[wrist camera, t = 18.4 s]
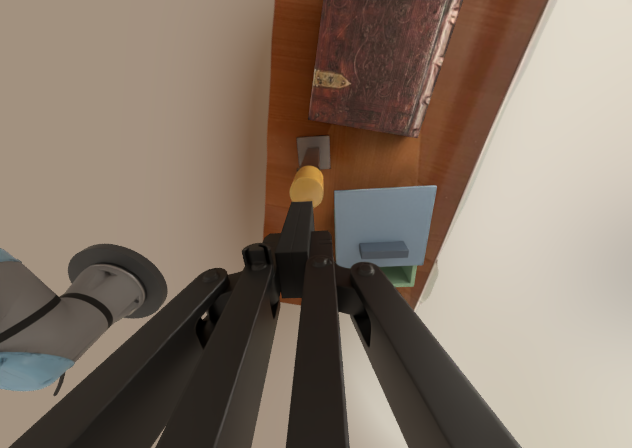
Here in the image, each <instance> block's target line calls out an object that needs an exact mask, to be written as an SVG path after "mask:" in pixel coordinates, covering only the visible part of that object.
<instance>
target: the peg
mask: <svg viewBox="0 0 632 448" xmlns="http://www.w3.org/2000/svg"><path fill="white" fill-rule="evenodd" d="M323 194H324V191H323V176H322V173H321V172H320V170H319V169H317V168H316V167H314V166H304V167H302V168H300V169H299V170H298V171H297V173H296V176H295V178H294V180H293V183H292V185H291V188H290V198H291V200H292V202H301V201H312V202H313V208H314V207H316V206H318V205H319V204H320V203H321V201H322V199H323Z"/></svg>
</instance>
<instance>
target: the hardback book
mask: <svg viewBox="0 0 632 448" xmlns="http://www.w3.org/2000/svg"><path fill="white" fill-rule="evenodd" d="M462 2H463V0H323V7H322V15H321V22H320V30H319V38H318V46H317V54H316V62H315V70H314V78H313V86H312V94H311V102H310V109H309V117H308V120H314V121H319V122H325V123H331V124H337V125H343V126H349V127H355V128H361V129H367V130H373V131H378V132H384V133H390V134H396V135H402V136H408V137H414V138H418V135H419V132H420V129H421V126H422V123H423V120H424V117H425V114H426V111H427V108H428V105H429V102H430V99H431V96H432V93H433V90H434V87H435V84H436V81H437V78H438V74H439V71H440V68H441V65H442V62H443V59H444V56H445V53H446V50H447V47H448V44H449V41H450V38H451V35H452V32H453V29H454V26H455V23H456V20H457V17H458V14H459V11H460V8H461V5H462Z"/></svg>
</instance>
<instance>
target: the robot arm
mask: <svg viewBox="0 0 632 448" xmlns="http://www.w3.org/2000/svg"><path fill="white" fill-rule="evenodd" d="M242 255H243V259H244V263H245V267H244V269H243V271H241V272H238V273H234V274H230V275H228V274H227V271H226V270H225V269H222V268H214V269H209V270H207V271H205V272H203V273H202V274H200V275H199V276H198V277H197V278H196V279H194V280H193V282H191V283H190V284H189V285H188V286H187V287H186V288H185V289H183V290H182V291H181V292H180V293H179V294H178V295H177V296H176V297H175V298H173V299H172V300H171V301H170V302H169V303H168V304H167V305H166V306H165V307H163V308H162V309H161V310H160V311H159V312H158V313H157V314H156V315H155V316H154V317H152V318H151V319H150V320H149V321H148V322H147V323H146V324H145V325H144V326H142V327H141V328H140V329H139V330H138V331H137V332H136V333H135V334H134V335H132V337H130V338H129V339H128V340H127V341H126V342H125V343H124V344H123V345H121V346H120V347H119V348H118V349H117V350H116V351H115V352H114V353H113V354H111V355H110V356H109V357H108V358H107V359H106V360H105V361H104V362H103V363H102V364H100V365H99V366H98V367H97V368H96V369H95V370H94V371H93V372H92V373H90V374H89V375H88V376H87V377H86V378H85V379H84V380H83V381H82V382H81V383H80V384H78V385H77V386H76V387H75V388H74V389H73V390H72V391H71V392H69V393H68V394H67V395H66V396H65V397H64V398H63V399H62V400H61V401H60V402H58V403H57V404H56V405H55V406H54V407H53V408H52V409H51V410H50V411H48V412H47V413H46V414H45V415H44V416H43V417H42V418H41V419H40V420H39V421H37V422H36V423H35V424H34V425H33V426H32V427H31V428H30V429H29V430H27V431H26V432H25V433H24V434H23V435H22V436H21V437H20V438H19V439H18V440H16V441H15V442H14V443H13V444H12V445H11V446H10V447H9V448H151V446H152V445H153V444H154V442H155V441H156V439H157V438H158V436H159V435H160V433H161V432H162V431H163V429H164V428H165V429H164V431H163V433H162V435H161V437H160V440H159V441H158V443H157V446H156V447H155V448H251V445H252V440H253V436H254V431H255V426H256V421H257V416H258V412H259V406H260V401H261V397H262V392H263V388H264V383H265V378H266V373H267V368H268V363H269V359H270V354H271V349H272V344H273V339H274V334H275V330H276V325H277V320H278V315H279V311H280V299H279V296H280V292H281V295H282V298H302V302H301V312H300V322H299V330H298V340H297V349H296V358H295V367H294V377H293V386H292V396H291V404H290V414H289V424H288V433H287V442H286V448H350V447H349V435H348V423H347V411H346V399H345V387H344V375H343V362H342V351H341V338H340V327H339V314H338V312H342V313H346V314H350V317H351V319H352V322H353V324H354V327H355V329H356V331H357V333H358V336H359V337H360V340H361V342H362V344H363V347H364V349H365V351H366V353H367V355H368V358H369V360H370V362H371V365H372V367H373V369H374V371H375V374H376V376H377V378H378V380H379V383H380V385H381V387H382V389H383V391H384V393H385V396H386V398H387V400H388V403H389V405H390V407H391V409H392V412H393V414H394V416H395V418H396V421H397V423H398V425H399V427H400V429H401V432H402V434H403V436H404V439H405V441H406V443H407V445H408V447H409V448H522V447H521V446H520V445H519V444H518V442H517V441H516V440H515V439H514V437H513V436H512V435H511V433H510V432H509V431H508V430H507V428H506V427H505V426H504V425H503V423H502V422H501V421H500V420H499V418H498V417H497V416H496V414H495V413H494V412H493V411H492V410H491V408H490V407H489V406H488V404H487V403H486V402H485V401H484V399H483V398H482V397H481V395H480V394H479V393H478V392H477V390H476V389H475V388H474V387H473V385H472V384H471V383H470V382H469V380H468V379H467V378H466V376H465V375H464V374H463V373H462V371H461V370H460V369H459V368H458V366H457V365H456V364H455V363H454V361H453V360H452V359H451V357H450V356H449V355H448V354H447V352H446V351H445V350H444V349H443V347H442V346H441V345H440V344H439V342H438V341H437V340H436V339H435V337H434V336H433V335H432V333H431V332H430V331H429V330H428V328H427V327H426V326H425V324H424V323H423V322H422V321H421V319H420V318H419V317H418V316H417V314H416V313H415V312H414V311H413V309H412V308H411V307H410V305H409V304H408V303H407V302H406V300H405V299H404V298H403V297H402V295H401V294H400V293H399V292H398V290H397V289H396V288H395V286H394V285H393V284H392V283H391V281H390V280H389V279H388V278H387V276H386V275H385V274H384V273H383V271H382V270H381V269H380V268H379V267H378V266H377V265H376V264H373V263H371V262H358V263H355V264H354V265H352V266H351V269H350V268H345V267H342V266H339V265H338V264H336V263H335V261H334V259H333V248H332V236H331V234H330V233H329V232H328V231H315V230H314V216H313V202H312V201H301V202H291V205H290V208H289V211H288V214H287V217H286V220H285V223H284V226H283V229H282V232H281V233H275V234H269V235H268V236H266V237H265V238H264V240H263V243H255V244H252V245H249V246H247V247H245V248H244V249H243V250H242ZM146 298H147V290H146V287H145V285H144V283H143V282H142V280H141V279H140V278H139V277H138V276H137V275H136V274H135V273H133V272H132V271H130V270H129V269H127V268H125V267H123V266H120V265H118V264H114V263H109V262H99V263H95V264H92V265H91V266H89V267H88V268H86V269H85V270H83V271H82V272H81V273H80V274H79V276H78V277H77V278H76V279H75V281H74V282H73V283H72V285H71V286H70V287H69V288H68V290H67V291H66V292H65V293H64V294H63V295H62V296H60V297H58V296H57V295H56V294H55V293H54V292H53V291H52V290H51V289H49V288H48V287H47V286H46V285H45V284H44V283H43V282H42V281H41V280H40V279H38V278H37V277H36V276H35V275H34V274H33V273H32V272H31V271H30V270H29V269H28V268H27V267H25V266H24V265H23V264H22V262H21V261H20V260H18V259H15V258H14V257H13V256H11V255H10V254H9V253H8V252H6V251H5V250H3V249H1V248H0V389H6V390H13V391H34V390H39V389H42V388H44V387H47V386H49V385H51V384H52V383H53V382H55V381H56V380H57V379H58V378H59V377H60V380H59V383H58V386H57V388H56V390H55V392H54V396H56V395H57V394H58V392H59V390H60V388H61V385H62V383H63V379H64V376H65V372H66V370H68V369H69V368H71V367H72V366H73V365H74V364H75V362H76V361H77V360H78V359H79V358H80V357H81V356H82V355H83V354H84V353H85V352H86V351H87V350H88V348H90V347H91V346H92V345H93V343H94V342H96V341H97V340H98V338H99V337H100V336H101V335H102V334H103V333H104V332H105V331H106V330H107V329H108V328H109V327H110V326H111V325H112V324H113V323H115V322H117V321H119V320H120V319H122V318H124V317H125V316H127V315H128V316H129V315H130V314H132V313H133V312H134V311H136V310H137V309H138V308H139V307H140V306H141V305H142V304H143V303H144V302H145V301H146ZM205 312H206V313H207V316H206V317H205V318H204V319H203V320H202V319H201V317H202V315H203V314H204V313H205ZM165 426H166V427H165Z"/></svg>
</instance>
